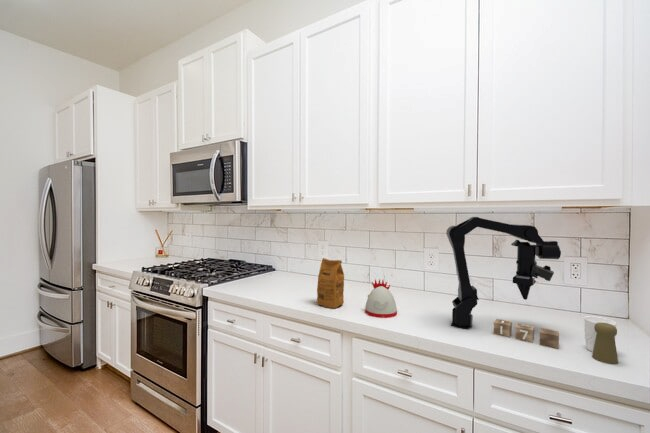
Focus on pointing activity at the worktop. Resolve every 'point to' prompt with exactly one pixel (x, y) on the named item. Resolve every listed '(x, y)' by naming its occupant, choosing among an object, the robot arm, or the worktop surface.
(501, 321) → the block one
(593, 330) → the white cup
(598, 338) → the cork
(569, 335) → the worktop surface
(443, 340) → the worktop surface
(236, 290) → the worktop surface
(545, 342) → the plain block
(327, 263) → the coffee package
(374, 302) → the grey dome
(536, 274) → the robot arm
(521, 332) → the tan marked cube block
